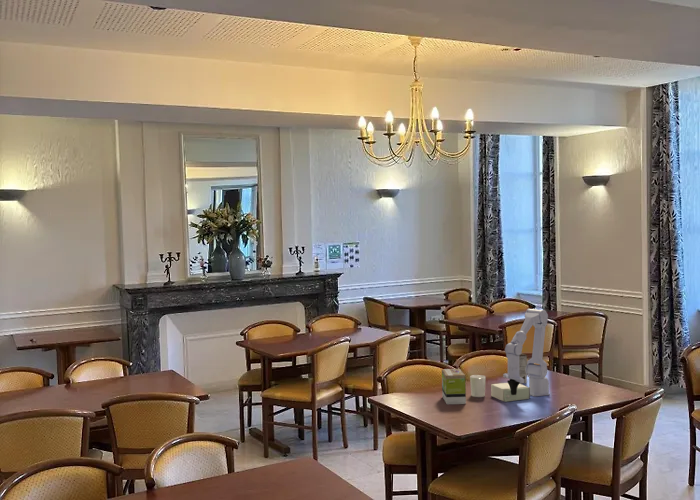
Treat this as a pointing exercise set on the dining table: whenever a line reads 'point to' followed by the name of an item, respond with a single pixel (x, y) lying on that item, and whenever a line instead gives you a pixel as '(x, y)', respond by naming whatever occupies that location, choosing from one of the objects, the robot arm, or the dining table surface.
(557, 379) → the dining table surface
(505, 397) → the door
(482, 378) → the white cup
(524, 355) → the coffee box
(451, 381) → the tea box
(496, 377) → the dining table surface
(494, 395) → the cabinet
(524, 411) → the dining table surface
